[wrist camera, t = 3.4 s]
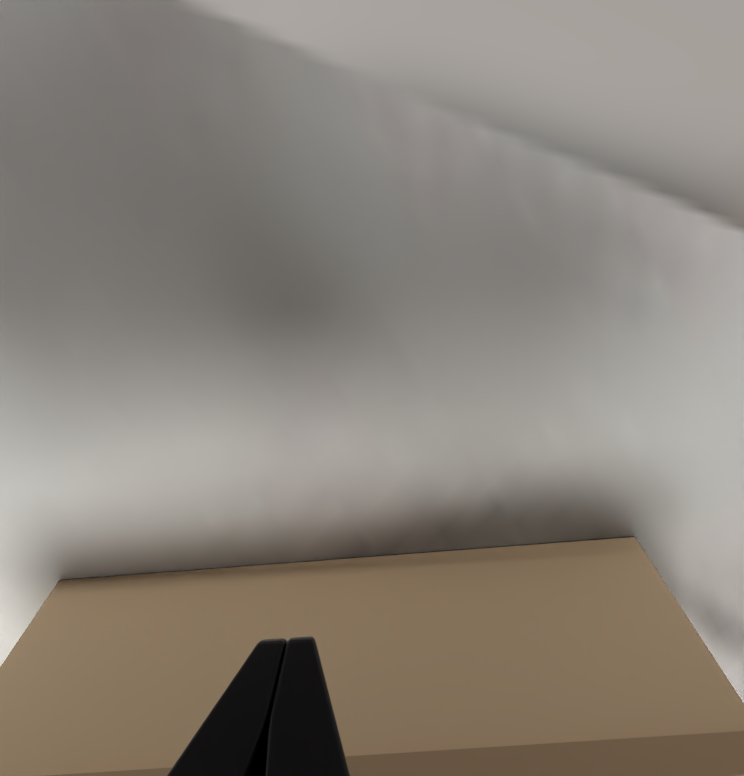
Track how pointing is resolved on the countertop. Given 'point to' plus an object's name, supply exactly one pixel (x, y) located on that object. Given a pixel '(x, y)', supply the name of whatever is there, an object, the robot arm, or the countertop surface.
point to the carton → (367, 655)
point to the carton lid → (553, 759)
